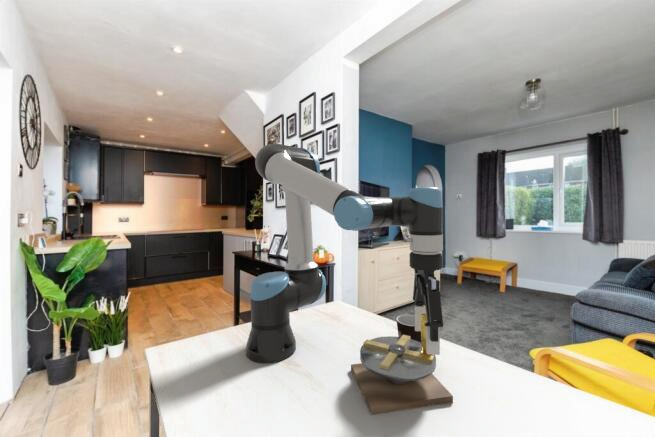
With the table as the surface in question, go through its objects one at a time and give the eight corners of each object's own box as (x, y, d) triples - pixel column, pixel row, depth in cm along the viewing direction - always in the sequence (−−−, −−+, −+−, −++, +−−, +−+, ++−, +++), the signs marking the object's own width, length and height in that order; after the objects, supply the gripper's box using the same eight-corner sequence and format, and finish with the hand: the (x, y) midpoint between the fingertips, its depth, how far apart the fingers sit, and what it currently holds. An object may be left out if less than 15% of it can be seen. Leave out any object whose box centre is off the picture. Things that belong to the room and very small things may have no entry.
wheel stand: (351, 369, 77) (350, 348, 77) (416, 362, 81) (416, 341, 80) (371, 414, 61) (371, 386, 60) (452, 402, 64) (452, 376, 64)
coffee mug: (428, 361, 81) (428, 327, 80) (397, 359, 83) (396, 325, 82) (423, 342, 92) (423, 312, 92) (395, 340, 94) (395, 310, 94)
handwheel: (425, 390, 58) (425, 335, 58) (347, 366, 68) (346, 318, 67) (442, 352, 73) (442, 307, 73) (376, 336, 83) (376, 297, 82)
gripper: (401, 245, 81) (402, 321, 82) (421, 261, 57) (421, 367, 58) (428, 245, 80) (429, 322, 81) (460, 261, 57) (460, 369, 58)
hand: (426, 341), depth 70 cm, fingers open, 11 cm apart
